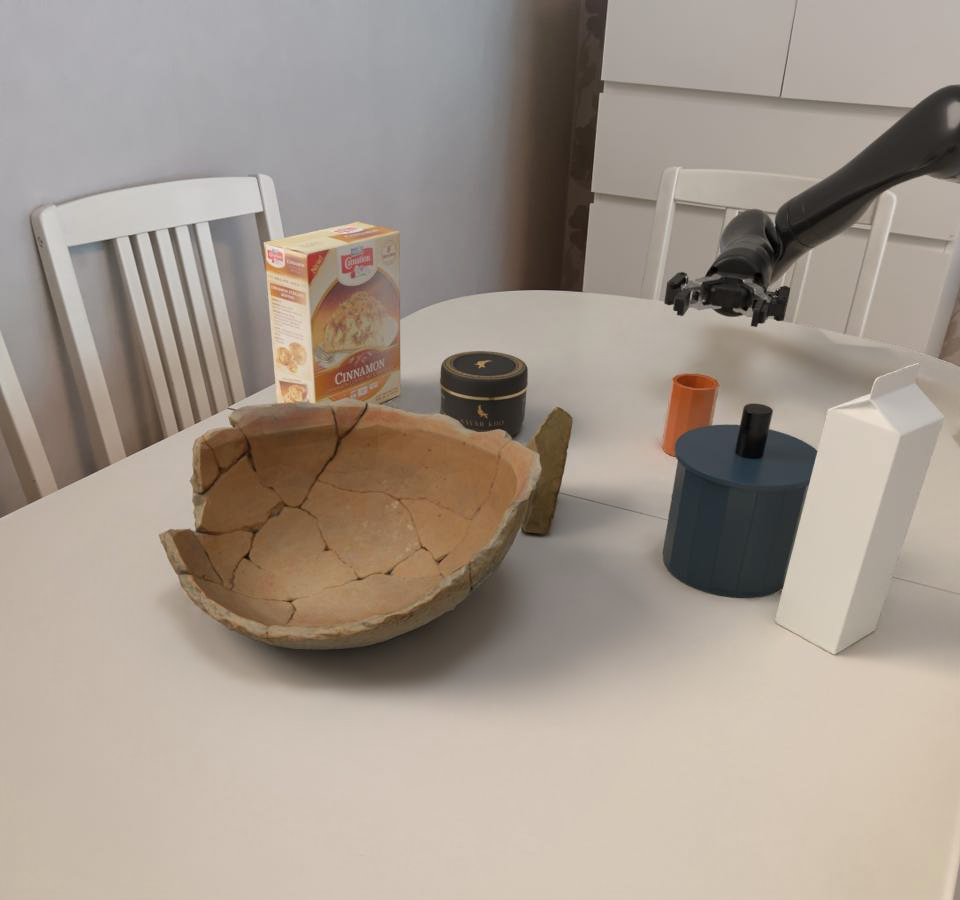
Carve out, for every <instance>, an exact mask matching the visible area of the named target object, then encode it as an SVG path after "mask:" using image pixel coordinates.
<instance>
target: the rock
mask: <svg viewBox="0 0 960 900" xmlns="http://www.w3.org/2000/svg"><path fill="white" fill-rule="evenodd" d="M573 419H574V418H573V416H572V415H571V414H570V413H569V412H567V411H565V410H564V409H563V408H561V407H559V406H556V407H554V408H553V409H552V410H551V411H550V413H548V414H547V416H546V418H544V421H543V422H542V423H541V424H540V426H539V427H538V429H537V430H536V432H535V434H533V435H534V436H533V437H531V438H530V440H529V441H528V443H527V444H526V445H523V446H524V447H527V448H529V449H531V450H532V451H534V452H537V453H538V454H540V456H541V457H540V465H541V477H540V480H539V482H538V483H537V485H536V487H535V490H534V491H533V493H532V494H531V495H530V497H529V499H528V501H527V503H526V506H525V512H524V517H523V521H522V524H521V529H522V530H523V531H524V532H525V533H531V534H532V533H533V534H539V535H547V534H548V533H549V531H550V528H551V526H552V521H553V519H554V517H555V514H556V509H557V504H558V499H559V494H560V491H561V487H562V482H563V477H564V474H565V468H566V463H567V458H568V449H569V443H570V439H571V434H572V428H573V425H574V423H573V421H574V420H573Z"/></svg>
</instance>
